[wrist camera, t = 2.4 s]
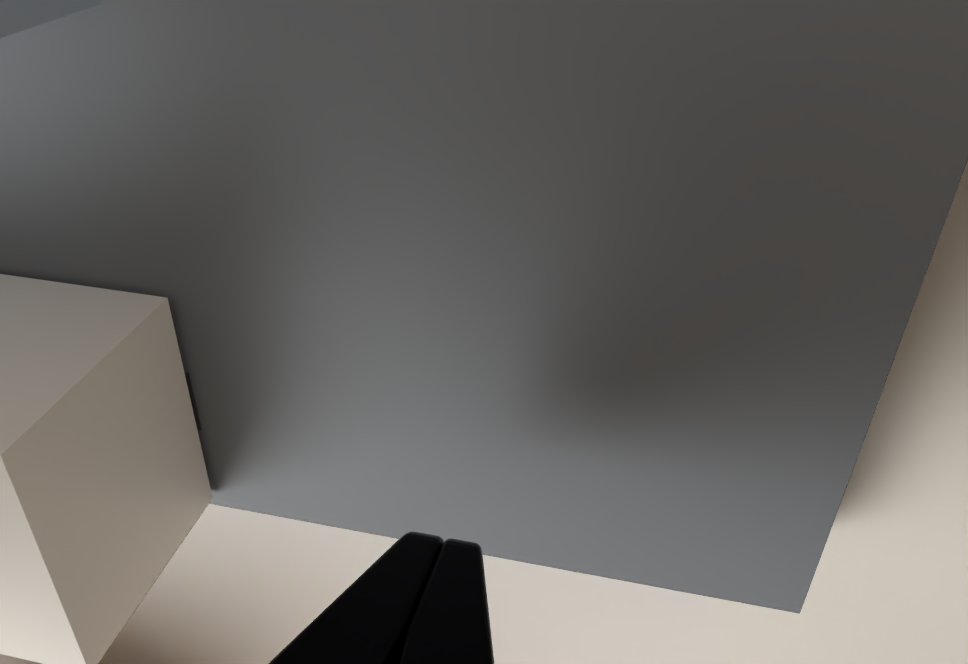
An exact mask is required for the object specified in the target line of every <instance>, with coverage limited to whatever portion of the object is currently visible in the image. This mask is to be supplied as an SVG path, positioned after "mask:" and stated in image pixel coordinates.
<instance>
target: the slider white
mask: <svg viewBox="0 0 968 664" xmlns="http://www.w3.org/2000/svg"><path fill="white" fill-rule="evenodd" d="M212 498H213V497H212V493H211V488H210V484H209V479H208V475H207V470H206V466H205V462H204V457H203V453H202V448H201V444H200V439H199V435H198V431H197V426H196V422H195V417H194V413H193V408H192V404H191V399H190V395H189V391H188V386H187V382H186V377H185V373H184V368H183V364H182V360H181V355H180V351H179V346H178V342H177V337H176V333H175V329H174V324H173V320H172V315H171V311H170V306H169V302H168V298H167V297H159V296H152V295H145V294H138V293H131V292H124V291H117V290H110V289H103V288H96V287H89V286H82V285H75V284H68V283H61V282H54V281H47V280H40V279H33V278H26V277H19V276H12V275H4V274H0V654H3V655H7V656H12V657H16V658H20V659H25V660H29V661H33V662H38V663H42V664H98V663H99V662H100V660H101V659H102V657H103V656H104V654H105V653H106V652H107V650H108V649H109V647H110V646H111V644H112V643H113V641H114V640H115V639H116V637H117V636H118V634H119V633H120V631H121V630H122V628H123V627H124V626H125V624H126V623H127V621H128V620H129V618H130V617H131V615H132V614H133V612H134V611H135V610H136V608H137V607H138V605H139V604H140V602H141V601H142V599H143V598H144V597H145V595H146V594H147V592H148V591H149V589H150V588H151V586H152V585H153V584H154V582H155V581H156V579H157V578H158V576H159V575H160V573H161V572H162V571H163V569H164V568H165V566H166V565H167V563H168V562H169V560H170V559H171V558H172V556H173V555H174V553H175V552H176V550H177V549H178V547H179V546H180V545H181V543H182V542H183V540H184V539H185V537H186V536H187V534H188V533H189V532H190V530H191V529H192V527H193V526H194V524H195V523H196V521H197V520H198V519H199V517H200V516H201V514H202V513H203V511H204V510H205V508H206V507H207V506H208V504H209V503H210V501H211V500H212Z"/></svg>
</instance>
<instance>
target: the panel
mask: <svg viewBox="0 0 968 664" xmlns="http://www.w3.org/2000/svg"><path fill="white" fill-rule="evenodd" d="M100 1H101V4H98V5H96V6H93V7H90V8H87V9H84V10H81V11H78V12H75V13H72V14H69V15H67V16H64V17H61V18H58V19H55V20H52V21H49V22H46V23H43V24H40V25H37V26H35V27H32V28H29V29H26V30H23V31H20V32H17V33H14V34H11V35H8V36H6V37H3V38H0V274H4V275H12V276H19V277H26V278H33V279H40V280H47V281H54V282H61V283H68V284H75V285H82V286H89V287H96V288H103V289H110V290H117V291H124V292H131V293H138V294H145V295H152V296H159V297H167V298H168V302H169V306H170V311H171V315H172V320H173V324H174V329H175V333H176V337H177V342H178V346H179V351H180V355H181V360H182V364H183V368H184V373H185V377H186V382H187V386H188V391H189V395H190V399H191V404H192V408H193V413H194V417H195V422H196V426H197V431H198V435H199V439H200V444H201V448H202V453H203V457H204V462H205V466H206V470H207V475H208V479H209V484H210V488H211V493H212V497H213V498H212V500H211V501H210V504H215V505H220V506H226V507H231V508H236V509H242V510H247V511H252V512H258V513H263V514H269V515H274V516H279V517H285V518H290V519H295V520H301V521H306V522H312V523H317V524H322V525H328V526H333V527H338V528H344V529H349V530H354V531H360V532H365V533H371V534H376V535H381V536H387V537H392V538H397V539H400V538H401V537H402V536H403V535H405V534H406V533H408V532H420V533H425V534H431V535H436V536H439V537H441V538H442V539H443V540H444V542H445V540H447V539H450V538H452V539H458V540H463V541H469V542H474V543H477V544H479V545H480V547H481V550H482V554H483V555H489V556H494V557H499V558H505V559H510V560H515V561H521V562H526V563H532V564H537V565H542V566H548V567H553V568H558V569H564V570H569V571H574V572H580V573H585V574H591V575H596V576H601V577H607V578H612V579H617V580H623V581H628V582H634V583H639V584H644V585H650V586H655V587H660V588H666V589H671V590H676V591H682V592H687V593H693V594H698V595H703V596H709V597H714V598H719V599H725V600H730V601H735V602H741V603H746V604H752V605H757V606H762V607H768V608H773V609H778V610H784V611H789V612H794V613H800V611H801V609H802V606H803V603H804V600H805V598H806V595H807V592H808V590H809V587H810V584H811V582H812V579H813V576H814V573H815V571H816V568H817V565H818V563H819V560H820V557H821V555H822V552H823V549H824V546H825V544H826V541H827V538H828V536H829V533H830V530H831V527H832V525H833V522H834V519H835V517H836V514H837V511H838V509H839V506H840V503H841V500H842V498H843V495H844V492H845V490H846V487H847V484H848V482H849V479H850V476H851V473H852V471H853V468H854V465H855V463H856V460H857V457H858V455H859V452H860V449H861V446H862V444H863V441H864V438H865V436H866V433H867V430H868V428H869V425H870V422H871V419H872V417H873V414H874V411H875V409H876V406H877V403H878V401H879V398H880V395H881V392H882V390H883V387H884V384H885V382H886V379H887V376H888V374H889V371H890V368H891V365H892V363H893V360H894V357H895V355H896V352H897V349H898V346H899V344H900V341H901V338H902V336H903V333H904V330H905V328H906V325H907V322H908V319H909V317H910V314H911V311H912V309H913V306H914V303H915V301H916V298H917V295H918V292H919V290H920V287H921V284H922V282H923V279H924V276H925V274H926V271H927V268H928V265H929V263H930V260H931V257H932V255H933V252H934V249H935V247H936V244H937V241H938V238H939V236H940V233H941V230H942V228H943V225H944V222H945V220H946V217H947V214H948V211H949V209H950V206H951V203H952V201H953V198H954V195H955V192H956V190H957V187H958V184H959V182H960V179H961V176H962V174H963V171H964V168H965V165H966V163H967V160H968V0H100Z"/></svg>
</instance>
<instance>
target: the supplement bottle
mask: <svg viewBox="0 0 968 664" xmlns="http://www.w3.org/2000/svg"><path fill="white" fill-rule="evenodd" d="M0 664H42V663H38V662H33V661H29V660H25V659H20V658H16V657H12V656H7V655H3V654H0Z"/></svg>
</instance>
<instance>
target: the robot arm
mask: <svg viewBox="0 0 968 664" xmlns="http://www.w3.org/2000/svg"><path fill="white" fill-rule="evenodd" d="M269 664H494V657H493V648H492V639H491V629H490V620H489V611H488V602H487V593H486V584H485V575H484V566H483V557H482V550H481V547H480V545H479V544H477V543H474V542H469V541H463V540H458V539H452V538H450V539H447V540H445V542H444V540H443V539H442V538H441V537H439V536H436V535H431V534H425V533H420V532H408V533H406V534H405V535H403V536H402V537H401V538H400V539H399V540H398V541H397V542H396V543H395V544H394V545H393V546H392V547H391V548H390V549H389V550H387V551H386V552H385V553H384V554H383V555H382V556H381V557H380V558H379V559H378V560H377V561H376V562H375V563H374V564H373V565H372V566H371V567H370V568H369V569H367V570H366V571H365V572H364V573H363V574H362V575H361V576H360V577H359V578H358V579H357V580H356V581H355V582H354V583H353V584H352V585H351V586H350V587H349V588H347V589H346V590H345V591H344V592H343V593H342V594H341V595H340V596H339V597H338V598H337V599H336V600H335V601H334V602H333V603H332V604H331V605H330V606H329V607H328V608H326V609H325V610H324V611H323V612H322V613H321V614H320V615H319V616H318V617H317V618H316V619H315V620H314V621H313V622H312V623H311V624H310V625H309V626H308V627H306V628H305V629H304V630H303V631H302V632H301V633H300V634H299V635H298V636H297V637H296V638H295V639H294V640H293V641H292V642H291V643H290V644H289V645H288V646H286V647H285V648H284V649H283V650H282V651H281V652H280V653H279V654H278V655H277V656H276V657H275V658H274V659H273V660H272V661H271V662H270V663H269Z"/></svg>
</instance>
